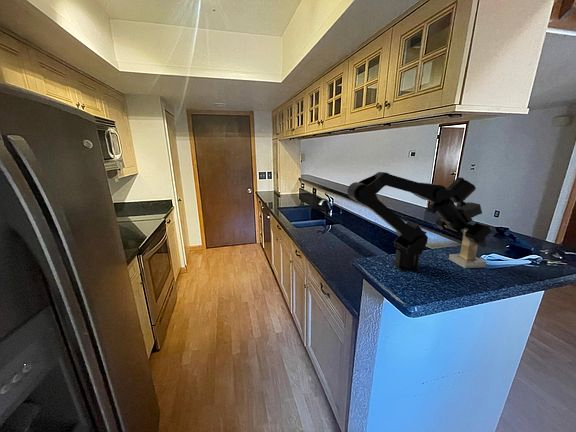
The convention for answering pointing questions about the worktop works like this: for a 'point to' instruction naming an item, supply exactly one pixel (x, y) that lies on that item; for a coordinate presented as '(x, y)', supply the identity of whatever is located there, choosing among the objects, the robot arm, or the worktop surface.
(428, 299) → the worktop surface
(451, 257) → the socket plate
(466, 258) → the pin
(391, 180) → the robot arm
